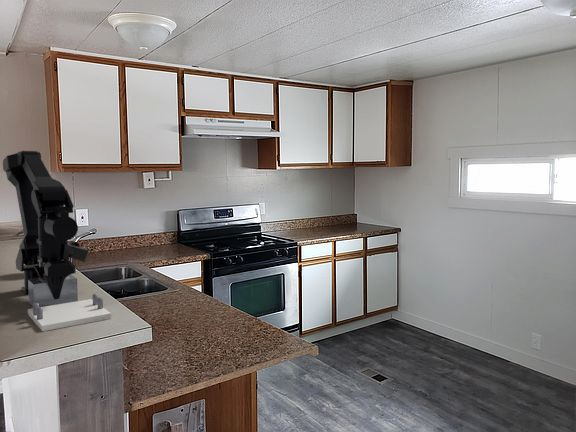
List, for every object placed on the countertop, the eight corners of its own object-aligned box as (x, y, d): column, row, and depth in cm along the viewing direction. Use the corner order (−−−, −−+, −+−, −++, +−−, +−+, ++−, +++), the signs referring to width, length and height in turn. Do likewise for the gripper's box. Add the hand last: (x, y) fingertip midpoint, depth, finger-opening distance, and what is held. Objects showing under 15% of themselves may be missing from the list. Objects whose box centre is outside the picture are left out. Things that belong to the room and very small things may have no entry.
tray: (27, 314, 110) (27, 298, 110) (91, 303, 119) (91, 289, 119) (42, 331, 100) (41, 314, 99) (111, 318, 109) (110, 302, 108)
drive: (28, 302, 119) (27, 278, 119) (70, 296, 126) (70, 273, 125) (34, 308, 115) (33, 283, 114) (77, 301, 121) (77, 278, 120)
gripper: (96, 237, 116) (98, 299, 118) (74, 228, 131) (76, 283, 132) (47, 241, 109) (49, 307, 111) (29, 231, 123) (31, 289, 125)
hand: (53, 296), depth 120 cm, fingers closed on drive, 6 cm apart
